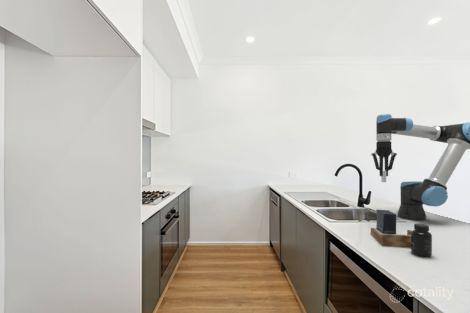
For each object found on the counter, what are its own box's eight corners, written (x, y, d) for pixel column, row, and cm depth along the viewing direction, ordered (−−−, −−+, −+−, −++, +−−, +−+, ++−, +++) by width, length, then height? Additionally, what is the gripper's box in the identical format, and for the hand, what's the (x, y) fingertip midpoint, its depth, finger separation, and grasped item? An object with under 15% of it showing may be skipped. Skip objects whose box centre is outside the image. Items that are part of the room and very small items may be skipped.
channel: (410, 236, 126) (410, 226, 126) (428, 249, 109) (428, 237, 109) (370, 233, 130) (370, 224, 130) (382, 245, 113) (382, 234, 113)
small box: (397, 235, 128) (397, 214, 128) (382, 234, 129) (382, 213, 129) (389, 229, 138) (389, 209, 138) (375, 228, 140) (375, 209, 140)
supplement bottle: (407, 252, 105) (406, 223, 105) (418, 250, 107) (418, 221, 107) (424, 259, 98) (424, 228, 98) (436, 256, 101) (436, 226, 101)
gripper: (373, 141, 146) (373, 182, 146) (399, 140, 143) (399, 182, 143) (369, 141, 153) (369, 181, 153) (394, 141, 150) (394, 181, 150)
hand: (383, 181), depth 148 cm, fingers closed
